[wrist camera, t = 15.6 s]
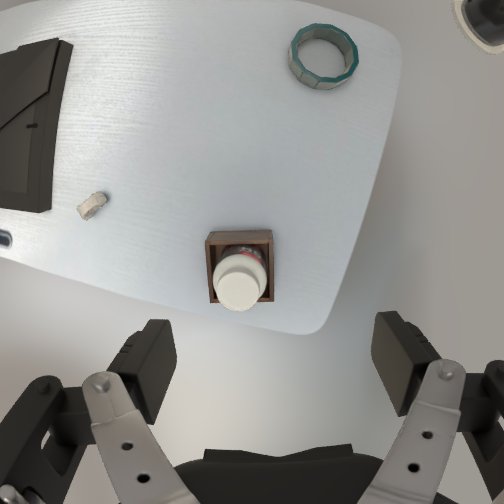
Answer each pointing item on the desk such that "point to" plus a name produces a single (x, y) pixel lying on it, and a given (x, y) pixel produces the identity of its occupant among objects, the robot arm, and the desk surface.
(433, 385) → the robot arm
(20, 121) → the dark grey flat block
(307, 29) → the teal ring
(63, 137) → the desk surface
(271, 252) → the holder
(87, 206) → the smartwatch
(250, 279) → the pill bottle
